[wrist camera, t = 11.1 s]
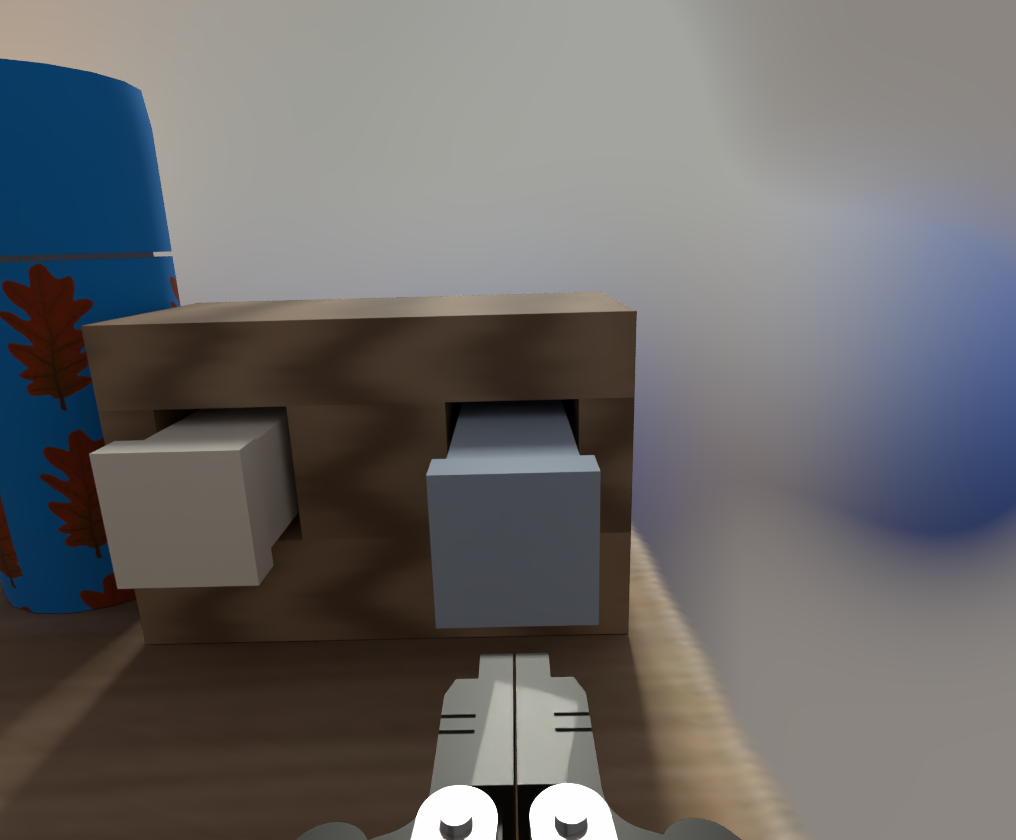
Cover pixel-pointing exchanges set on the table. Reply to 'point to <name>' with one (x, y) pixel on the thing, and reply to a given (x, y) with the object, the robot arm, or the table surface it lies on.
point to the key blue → (514, 520)
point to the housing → (370, 440)
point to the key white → (198, 499)
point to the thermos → (67, 314)
